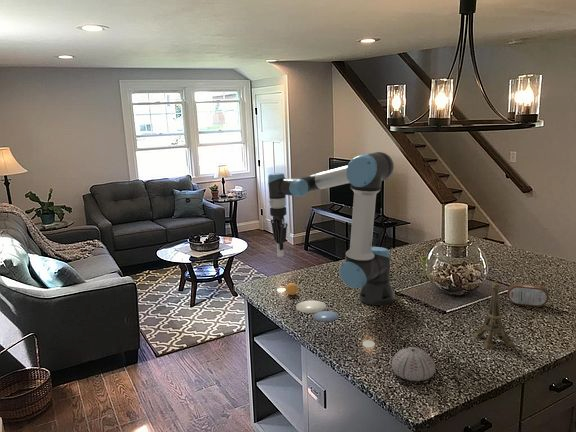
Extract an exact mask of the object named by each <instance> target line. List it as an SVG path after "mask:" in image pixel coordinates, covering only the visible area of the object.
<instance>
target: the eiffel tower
mask: <svg viewBox="0 0 576 432" xmlns="http://www.w3.org/2000/svg"><path fill="white" fill-rule="evenodd" d="M490 287H492V291H491V292H492V293H491V298H490V304H489V305H490V306H489V309H488V311H486V315H487V316H486V320H485V321H484V322H482V324H483V325H482V326H481V327H480V328H478V330H476V331H475V332H474V333H471V336H472V337H473V338H475V339H482V338H484V334H485V333H486V332H487V334H488V335H487V337H486V339H485V340H484V343H482V344H481V345H482V347H483V348H484V349H486V350H487V349H488V350H490V349H494V348H495V347H494V344H493V339H494V338H493V336H494V335H495V337H502V338H503V340H504V342H503V344H505V345H506V346H507V347H508V348H510V347H517V345H516V344H515V343H514V342H513V340H512V339H511V337H510V336H509V334H508V333H507V331H506V327H505V326H504V325H503V321H502V319H503V315H502V314H501V308H500V298H499V288H501V286H500V284H499V283H498V282H497V278H495V280H494V283H491V285H490Z"/></svg>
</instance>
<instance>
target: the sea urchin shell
mask: <svg viewBox="0 0 576 432" xmlns="http://www.w3.org/2000/svg"><path fill="white" fill-rule="evenodd" d="M390 363H391V368H392V372H393V373H394V375H396V376H397V377H399V378H401V379H403V380H406V381H410V382H411V381H412V382H414V381H415V382H420V381H426V380H428V379H430V378H432V377H433V376H434V374H435V372H436V364H435V363H436V362H435V361H434V359H433V358H432V357H431V355H430V354H428V353H427V352H426V351H425V350H423V349H420V348H417V347H415V346H409V347H407V348H406V347H405V348H402V349H400V350H399V351H397V352H396V353H395V354H394V355H393V356H392V358H391V362H390Z"/></svg>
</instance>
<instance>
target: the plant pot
mask: <svg viewBox="0 0 576 432" xmlns="http://www.w3.org/2000/svg"><path fill="white" fill-rule="evenodd" d="M427 256H428V255H426V256H422V257H420V261H421V264H422V270H423V276H424V277H426V274H425V264H426V258H427Z"/></svg>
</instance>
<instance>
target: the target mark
mask: <svg viewBox="0 0 576 432" xmlns="http://www.w3.org/2000/svg"><path fill="white" fill-rule="evenodd" d="M326 304H327V303H325V302H322V301H319V300H305V301H300V302H298V303H297V304H296V305H295V310H297V311H298V312H301V313H305V314H312V313H313V314H316V313H318V312H321V311H325V310H326V308H327V305H326Z"/></svg>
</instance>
